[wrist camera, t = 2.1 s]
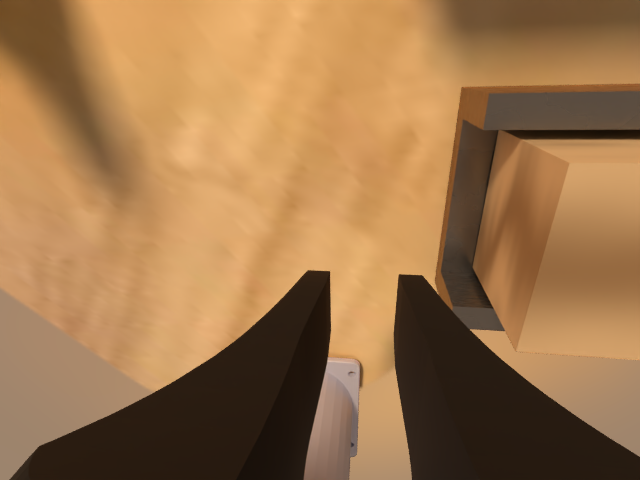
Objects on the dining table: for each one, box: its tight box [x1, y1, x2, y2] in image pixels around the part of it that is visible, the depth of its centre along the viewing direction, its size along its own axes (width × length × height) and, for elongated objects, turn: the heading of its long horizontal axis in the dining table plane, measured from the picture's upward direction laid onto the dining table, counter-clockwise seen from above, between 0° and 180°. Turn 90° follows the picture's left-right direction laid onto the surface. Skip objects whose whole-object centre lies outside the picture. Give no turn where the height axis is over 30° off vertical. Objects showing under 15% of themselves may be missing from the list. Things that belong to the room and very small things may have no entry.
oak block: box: [473, 130, 640, 360], centre depth 14 cm, size 7×6×6 cm
